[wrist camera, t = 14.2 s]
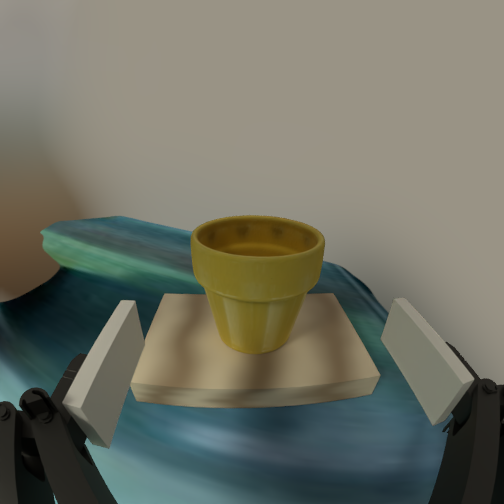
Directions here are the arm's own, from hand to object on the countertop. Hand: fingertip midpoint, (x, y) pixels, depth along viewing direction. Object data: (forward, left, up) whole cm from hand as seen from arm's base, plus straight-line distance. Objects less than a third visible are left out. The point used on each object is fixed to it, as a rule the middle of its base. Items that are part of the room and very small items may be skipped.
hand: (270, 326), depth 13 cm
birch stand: (0, +10, -11) cm, 14 cm away
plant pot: (0, +10, -8) cm, 13 cm away
